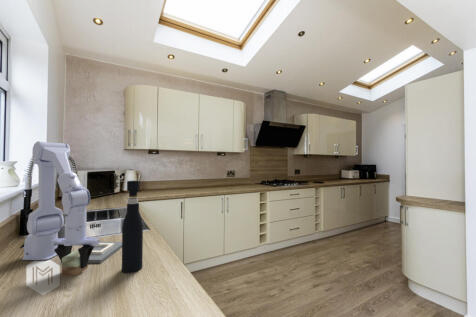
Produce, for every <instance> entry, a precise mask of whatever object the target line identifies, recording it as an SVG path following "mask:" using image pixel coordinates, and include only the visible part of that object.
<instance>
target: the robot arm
mask: <svg viewBox="0 0 476 317" xmlns="http://www.w3.org/2000/svg"><path fill="white" fill-rule="evenodd" d="M70 155H71V147H70V145H69V144H68V143H66V142H49V141H48V142H47V141H36V142H35V143H33V146H32V163H33V164H34V165H37V168H38V201H37V202H38V207H37V208H36V209H35V210H33V211H32V212H29V215H28V217H27V222H26V229H27V232H28V235H27V236H26V237H25V240H24V242H23V244H24V245H23V246H24V247H23V257H22V258H21V260H22V261H48V260H49V259H52V258H54V257H56V256H58V258H59V260H60V263H61V264H62V258H63V257H65V256H67V255H68V254H70V253H72V250H73V249H72V248H73V246H80V247H79V248H78V249H77V251H79V254H80V266H81V269H83V268H85V267H86V266H87V264H88V265H89V263H88V260H89V257H90V255H91V252H92V250H93V249H94V247H95V246H97V245H98V244H99V242H100V238H97V237H90V236H87V206H89V205H90V202H91V194H90V191H89V189H88V188H86V187H85V186H83V185H82V183H81V181H80V179H79V176H78V175H77V173H76V172H73V171H72V168H71V164H70V162H69V158H70ZM56 172H57V174H58V178H57V179H56ZM56 181H57V183H58V186H59V188H60V191H61V192H62V196H61V204H62V205H61V206H62V207H63V209H60V208H59V207H56ZM64 215H65V216H64ZM63 226H64V237H60V238H59V235H58V234H59V232H60V231H61V229H62V228H63Z"/></svg>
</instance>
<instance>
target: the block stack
mask: <svg viewBox="0 0 476 317" xmlns="http://www.w3.org/2000/svg"><path fill="white" fill-rule="evenodd" d="M87 269H89V263H88V264H87V266H86V267H85V268H83V269H81V266H80V254H79V252H77V251H71V253H70V254H68V255H67V256H65V257H63V258H62V263H61V276H79V275H80V274H82V273H83V272H84V271H85V270H87Z"/></svg>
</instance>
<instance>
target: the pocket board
mask: <svg viewBox="0 0 476 317" xmlns="http://www.w3.org/2000/svg"><path fill="white" fill-rule="evenodd" d="M119 250H122V241H99V244H98V245H97V246H95V247H94V249H93V250H92V252H91V255H90V257H89V260H88V264H102V263H103V262H105V261H106V260H107V259H108V258H110V257H111V256H113V255H114V254H116V253H117V252H118V251H119ZM76 252H79V251H78V250H77V251H76Z"/></svg>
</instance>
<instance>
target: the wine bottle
mask: <svg viewBox="0 0 476 317" xmlns="http://www.w3.org/2000/svg"><path fill="white" fill-rule="evenodd" d="M126 191H127V192H128V198H127V204H126V214H125V215H124V216H125V217H124V219H123V221H122V222H123V223H122V227H121V233H122V234H121V242H122V248H121V271H122V273H124V274H131V273H132V274H133V273H137V272H139V271H140V270H142V268H143V254H144V253H143V250H144V249H143V248H144V246H143V244H144V242H143V240H144V223H143V219H142V216H141V213H140V203H139V197H138V191H140V180H127V182H126Z"/></svg>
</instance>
